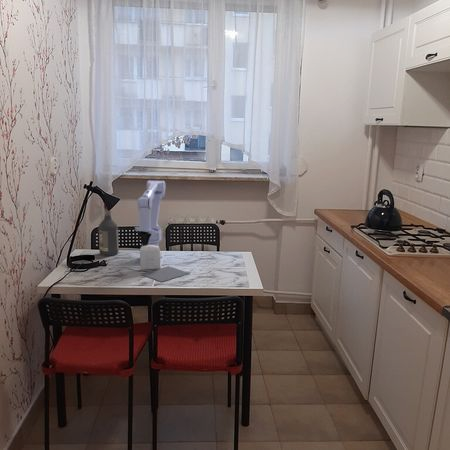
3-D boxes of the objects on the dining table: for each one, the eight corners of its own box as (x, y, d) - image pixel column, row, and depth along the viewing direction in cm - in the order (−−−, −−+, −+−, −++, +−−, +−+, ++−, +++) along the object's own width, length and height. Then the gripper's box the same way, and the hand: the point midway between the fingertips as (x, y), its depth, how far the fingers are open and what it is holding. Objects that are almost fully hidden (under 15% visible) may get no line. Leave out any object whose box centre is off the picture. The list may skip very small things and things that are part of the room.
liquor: (112, 250, 259) (111, 200, 253) (120, 254, 253) (118, 202, 246) (98, 253, 254) (96, 201, 247) (105, 256, 247) (103, 204, 241)
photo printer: (160, 266, 230) (159, 243, 228) (160, 269, 226) (159, 245, 223) (140, 268, 228) (139, 244, 226) (140, 270, 224) (139, 246, 222)
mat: (140, 274, 218) (140, 273, 218) (168, 266, 231) (168, 266, 231) (161, 282, 208) (161, 281, 208) (189, 273, 221) (189, 272, 221)
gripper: (130, 219, 231) (130, 244, 233) (147, 223, 221) (147, 249, 224) (140, 218, 236) (141, 242, 238) (158, 221, 226) (158, 247, 229)
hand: (145, 245), depth 231 cm, fingers closed
